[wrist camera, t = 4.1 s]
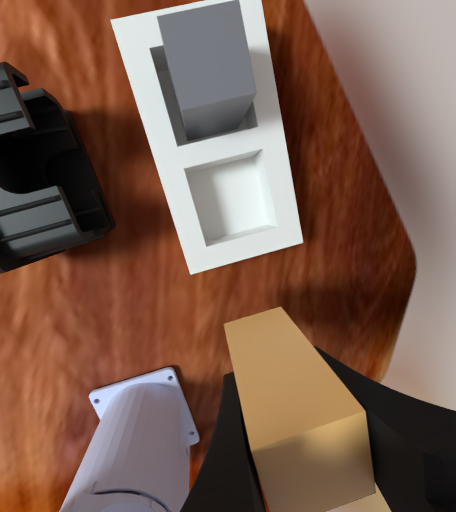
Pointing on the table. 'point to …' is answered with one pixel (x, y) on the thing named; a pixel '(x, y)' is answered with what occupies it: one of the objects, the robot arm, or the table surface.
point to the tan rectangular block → (298, 417)
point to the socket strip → (222, 167)
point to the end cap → (43, 178)
